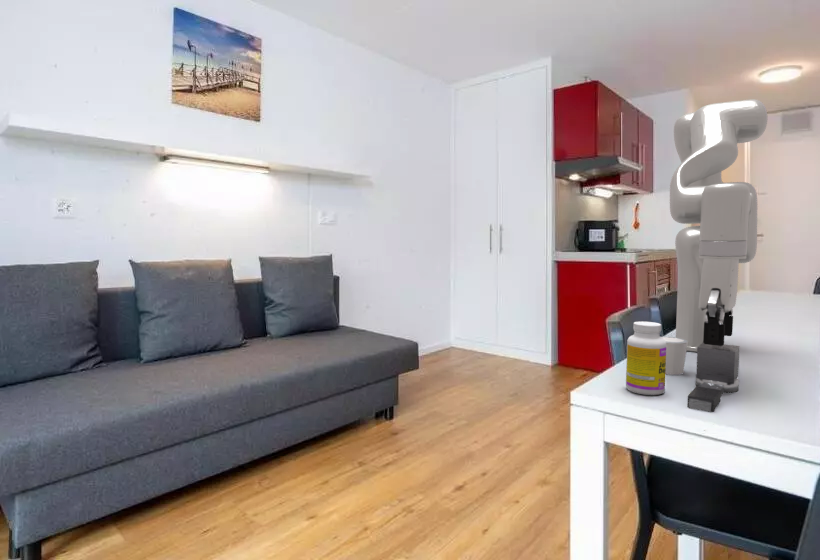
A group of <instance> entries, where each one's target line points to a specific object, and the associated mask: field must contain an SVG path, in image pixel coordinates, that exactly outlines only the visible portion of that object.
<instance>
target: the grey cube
mask: <svg viewBox="0 0 820 560" xmlns="http://www.w3.org/2000/svg"><path fill="white" fill-rule="evenodd" d="M739 363H740V345H734V344H725V343H724V345H723V346H716V345H708V344H704V343H702V344H701V345H700V346H698V347H697V352H696V374H695V379H696V378H698V379H705V380H711V381H717V382H724V383H730V384H734V383H735V381H736V379H739V370H740V369H739V367H740V365H739Z"/></svg>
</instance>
